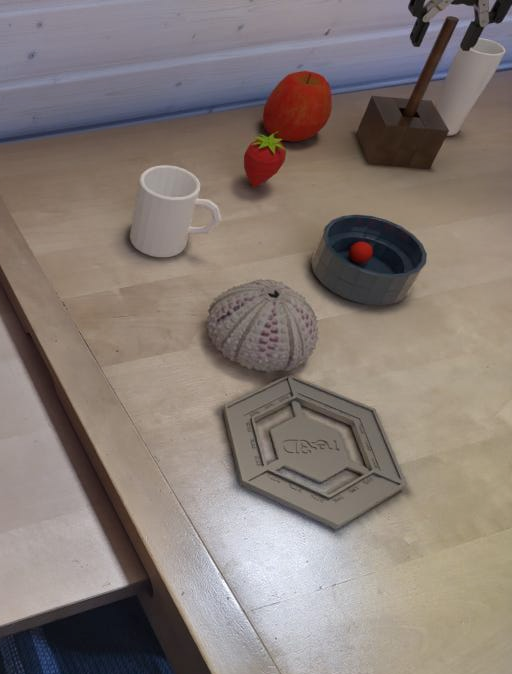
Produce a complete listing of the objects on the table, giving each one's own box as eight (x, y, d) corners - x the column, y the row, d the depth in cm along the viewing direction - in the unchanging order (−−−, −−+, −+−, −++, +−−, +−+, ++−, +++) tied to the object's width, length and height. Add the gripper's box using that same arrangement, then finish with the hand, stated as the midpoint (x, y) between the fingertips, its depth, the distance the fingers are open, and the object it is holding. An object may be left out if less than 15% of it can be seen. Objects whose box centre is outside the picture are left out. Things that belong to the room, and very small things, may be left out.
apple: (310, 156, 119) (332, 96, 112) (249, 136, 123) (266, 77, 115) (328, 129, 126) (350, 70, 118) (269, 111, 129) (287, 53, 122)
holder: (413, 138, 125) (431, 100, 120) (429, 169, 118) (449, 130, 113) (356, 133, 125) (371, 95, 120) (368, 163, 119) (385, 125, 113)
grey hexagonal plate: (358, 381, 85) (361, 376, 84) (421, 531, 71) (424, 526, 71) (214, 377, 84) (216, 372, 84) (250, 527, 71) (252, 523, 70)
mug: (198, 275, 97) (215, 216, 90) (120, 244, 101) (130, 185, 94) (220, 245, 102) (237, 186, 95) (144, 216, 106) (155, 158, 99)
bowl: (395, 250, 103) (411, 219, 99) (420, 313, 94) (439, 281, 90) (303, 242, 103) (315, 210, 99) (319, 303, 94) (333, 271, 90)
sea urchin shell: (289, 398, 83) (312, 351, 77) (183, 350, 87) (197, 302, 82) (324, 332, 91) (347, 285, 85) (225, 291, 95) (240, 243, 89)
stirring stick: (395, 148, 122) (457, 16, 106) (398, 153, 121) (460, 21, 105) (385, 147, 122) (444, 15, 106) (387, 153, 121) (448, 20, 105)
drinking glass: (414, 127, 128) (454, 43, 117) (432, 116, 131) (473, 33, 120) (450, 143, 124) (495, 58, 113) (468, 131, 127) (513, 47, 116)
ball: (365, 255, 101) (373, 238, 99) (369, 268, 99) (378, 251, 97) (343, 253, 101) (351, 236, 99) (348, 266, 99) (356, 249, 97)
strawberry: (281, 182, 114) (301, 125, 106) (263, 204, 109) (282, 146, 102) (247, 170, 116) (264, 112, 108) (228, 190, 111) (244, 132, 104)
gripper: (450, -71, 94) (398, 53, 106) (561, -62, 94) (495, 61, 106) (434, -88, 99) (386, 33, 112) (539, -80, 99) (479, 40, 111)
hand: (439, 46), depth 109 cm, fingers open, 7 cm apart
